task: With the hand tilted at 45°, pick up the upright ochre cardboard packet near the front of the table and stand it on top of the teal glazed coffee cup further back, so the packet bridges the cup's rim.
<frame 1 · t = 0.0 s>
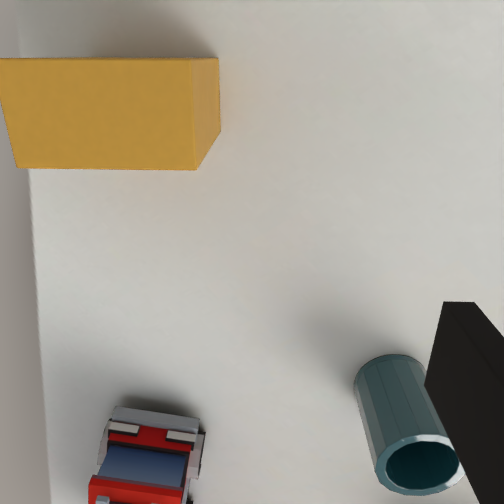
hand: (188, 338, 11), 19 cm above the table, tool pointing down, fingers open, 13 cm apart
packet: (156, 96, 26), on the table
toy fire truck: (155, 463, 41), on the table
coffee cup: (390, 382, 35), on the table
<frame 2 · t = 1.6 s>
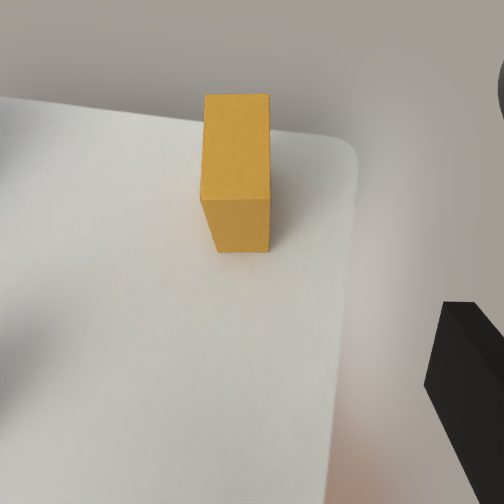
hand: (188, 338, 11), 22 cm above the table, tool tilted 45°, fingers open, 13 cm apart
packet: (243, 209, 36), on the table
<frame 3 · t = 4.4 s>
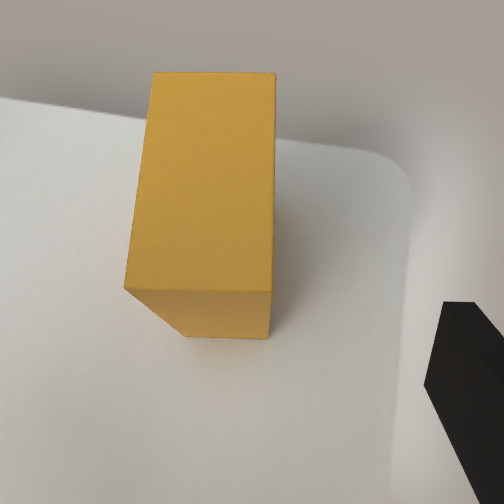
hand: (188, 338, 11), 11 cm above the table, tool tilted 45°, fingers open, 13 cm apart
packet: (229, 264, 23), on the table
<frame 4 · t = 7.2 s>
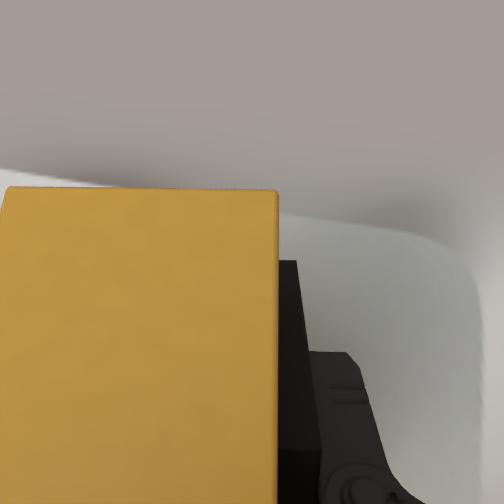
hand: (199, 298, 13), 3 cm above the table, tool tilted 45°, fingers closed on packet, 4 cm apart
packet: (205, 423, 15), on the table, touching gripper
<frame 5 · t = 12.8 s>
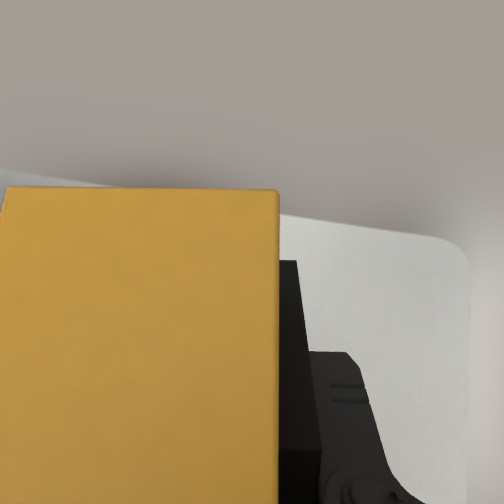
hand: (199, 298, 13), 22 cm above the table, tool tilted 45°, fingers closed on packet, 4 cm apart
packet: (205, 423, 15), point 18 cm above the table, touching gripper
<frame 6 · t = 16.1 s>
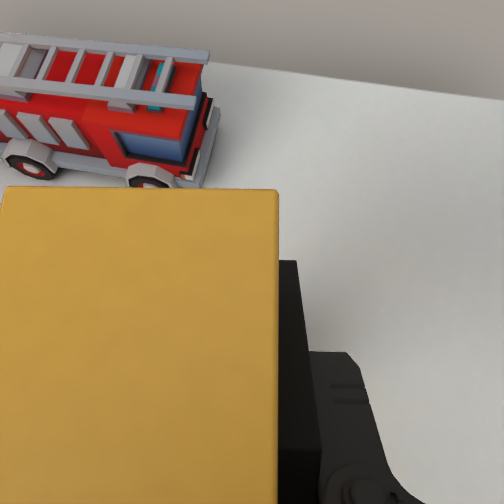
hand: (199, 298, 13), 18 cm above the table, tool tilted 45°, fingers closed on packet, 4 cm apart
packet: (205, 423, 15), point 15 cm above the table, touching gripper
toy fire truck: (115, 147, 37), on the table
when the fingers open (11 cm above the table, at t = 18.3 s): packet stays where it is, resting on coffee cup.
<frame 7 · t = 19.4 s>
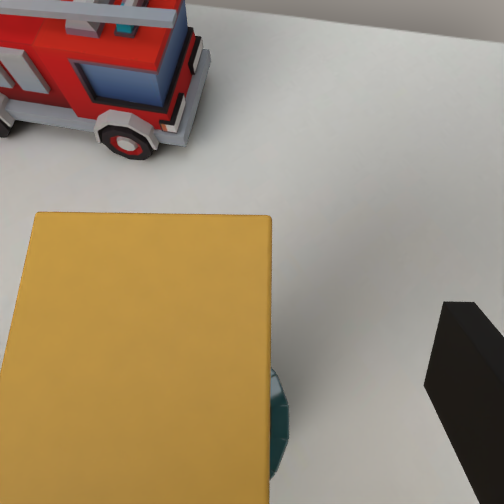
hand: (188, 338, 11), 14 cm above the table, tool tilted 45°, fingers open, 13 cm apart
packet: (206, 420, 16), point 8 cm above the table, touching coffee cup
toy fire truck: (86, 100, 31), on the table
coffee cup: (224, 413, 23), on the table
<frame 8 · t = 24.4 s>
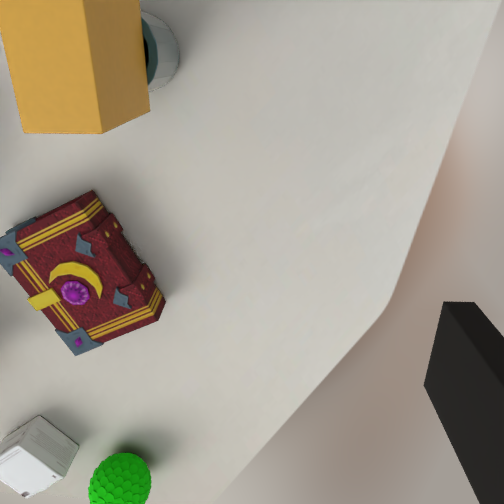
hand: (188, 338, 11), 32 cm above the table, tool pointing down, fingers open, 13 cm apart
packet: (114, 52, 30), point 8 cm above the table, touching coffee cup
decorative book: (96, 268, 47), on the table
coffee cup: (144, 53, 37), on the table
ornament: (130, 457, 60), on the table
small box: (43, 440, 59), on the table
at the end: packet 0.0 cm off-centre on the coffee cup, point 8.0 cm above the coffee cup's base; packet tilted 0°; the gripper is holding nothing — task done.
